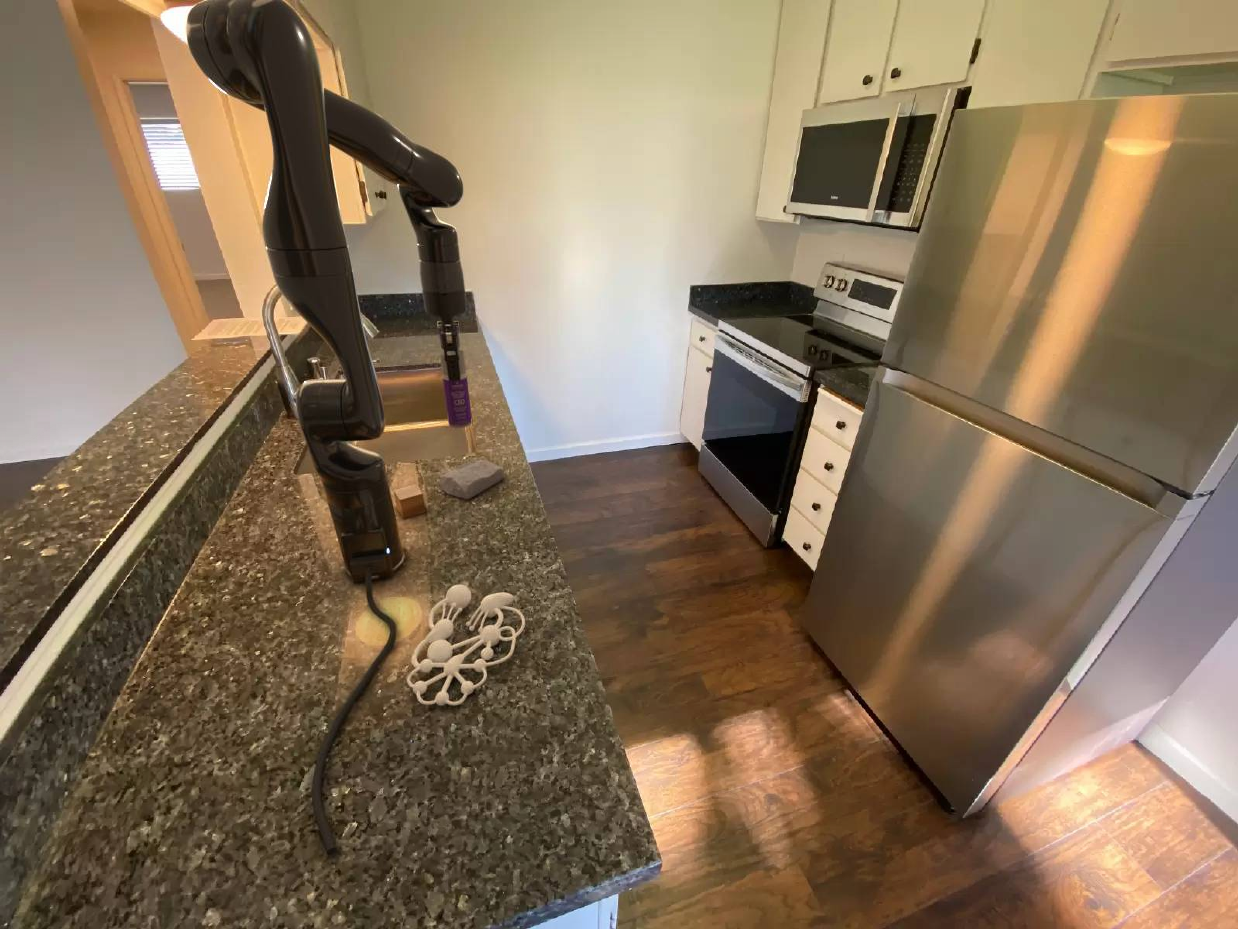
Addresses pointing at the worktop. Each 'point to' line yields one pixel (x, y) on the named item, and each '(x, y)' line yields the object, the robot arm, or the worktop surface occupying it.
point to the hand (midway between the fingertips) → (454, 375)
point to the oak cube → (409, 501)
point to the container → (456, 393)
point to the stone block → (471, 478)
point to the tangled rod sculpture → (461, 643)
